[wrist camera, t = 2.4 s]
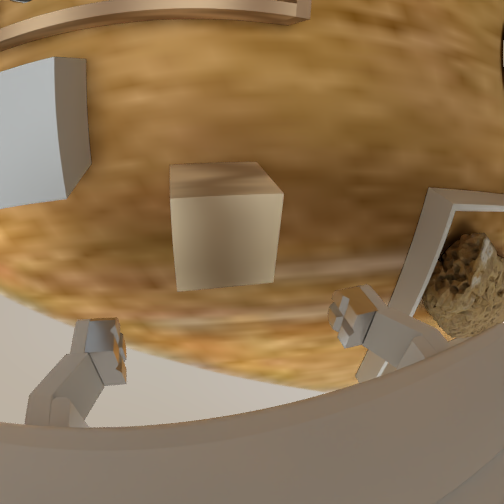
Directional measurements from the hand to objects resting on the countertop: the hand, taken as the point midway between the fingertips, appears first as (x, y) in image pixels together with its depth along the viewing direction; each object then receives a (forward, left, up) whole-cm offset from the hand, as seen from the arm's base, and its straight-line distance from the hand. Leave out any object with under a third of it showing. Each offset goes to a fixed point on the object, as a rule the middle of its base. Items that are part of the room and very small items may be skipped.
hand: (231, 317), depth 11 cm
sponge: (-30, +9, -10) cm, 33 cm away
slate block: (+9, -6, -9) cm, 15 cm away
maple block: (-1, 0, -9) cm, 9 cm away
